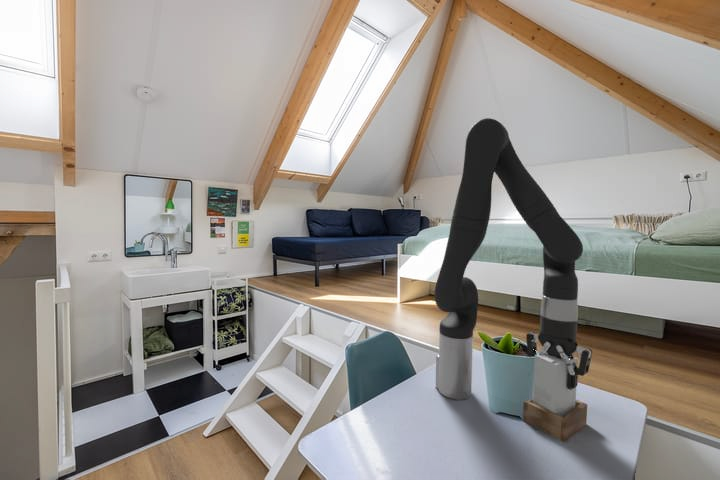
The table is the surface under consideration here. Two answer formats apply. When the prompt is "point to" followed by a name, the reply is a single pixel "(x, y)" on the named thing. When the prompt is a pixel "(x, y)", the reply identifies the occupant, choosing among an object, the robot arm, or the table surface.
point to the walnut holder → (556, 420)
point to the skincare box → (552, 385)
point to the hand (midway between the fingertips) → (555, 381)
